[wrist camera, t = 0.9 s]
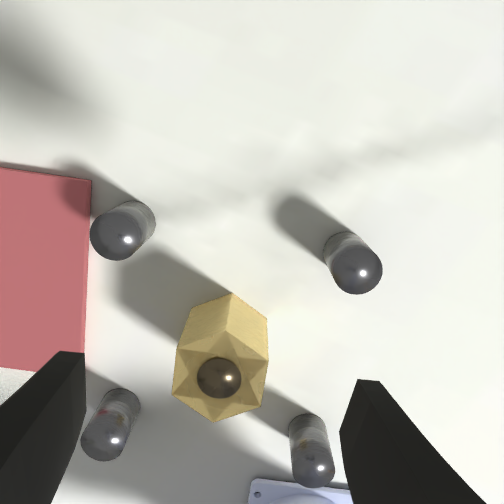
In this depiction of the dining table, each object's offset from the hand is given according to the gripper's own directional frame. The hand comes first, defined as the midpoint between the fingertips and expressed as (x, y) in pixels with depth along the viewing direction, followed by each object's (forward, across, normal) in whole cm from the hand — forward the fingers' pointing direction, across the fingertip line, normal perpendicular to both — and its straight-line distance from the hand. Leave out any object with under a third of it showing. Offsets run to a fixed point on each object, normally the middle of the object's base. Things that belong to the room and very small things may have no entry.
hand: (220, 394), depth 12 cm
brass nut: (+12, -1, +8) cm, 15 cm away
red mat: (+14, +12, +6) cm, 19 cm away
